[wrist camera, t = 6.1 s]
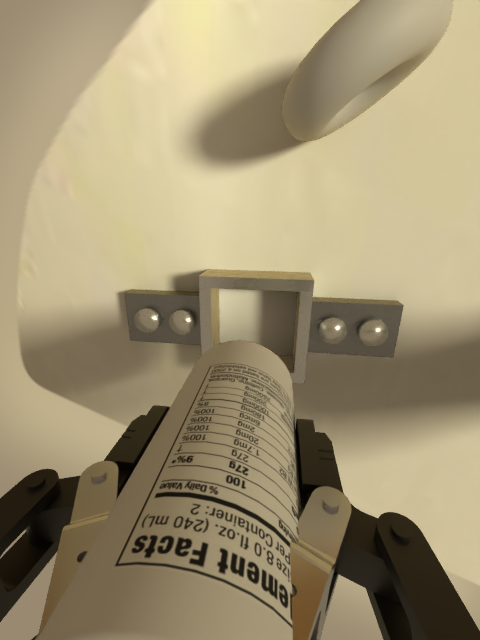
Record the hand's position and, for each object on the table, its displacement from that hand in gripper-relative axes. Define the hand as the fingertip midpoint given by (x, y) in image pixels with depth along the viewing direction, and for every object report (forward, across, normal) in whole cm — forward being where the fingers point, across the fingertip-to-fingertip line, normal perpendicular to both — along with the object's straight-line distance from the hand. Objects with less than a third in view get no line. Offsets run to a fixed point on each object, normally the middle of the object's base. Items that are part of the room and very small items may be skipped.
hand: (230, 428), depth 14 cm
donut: (+17, -6, -18) cm, 25 cm away
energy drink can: (+5, 0, 0) cm, 5 cm away
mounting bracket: (+16, 0, 0) cm, 16 cm away
